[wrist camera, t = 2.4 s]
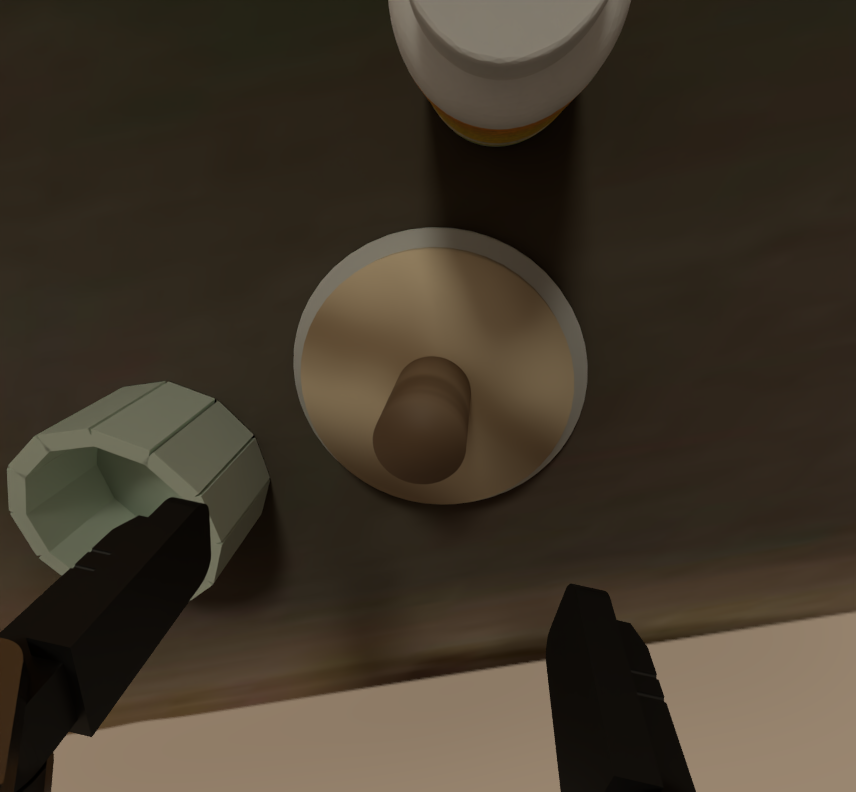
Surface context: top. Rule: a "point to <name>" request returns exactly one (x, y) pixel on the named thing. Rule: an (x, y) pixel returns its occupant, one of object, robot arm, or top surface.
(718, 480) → the top surface
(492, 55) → the supplement bottle
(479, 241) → the mat
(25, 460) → the bowl
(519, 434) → the lid
